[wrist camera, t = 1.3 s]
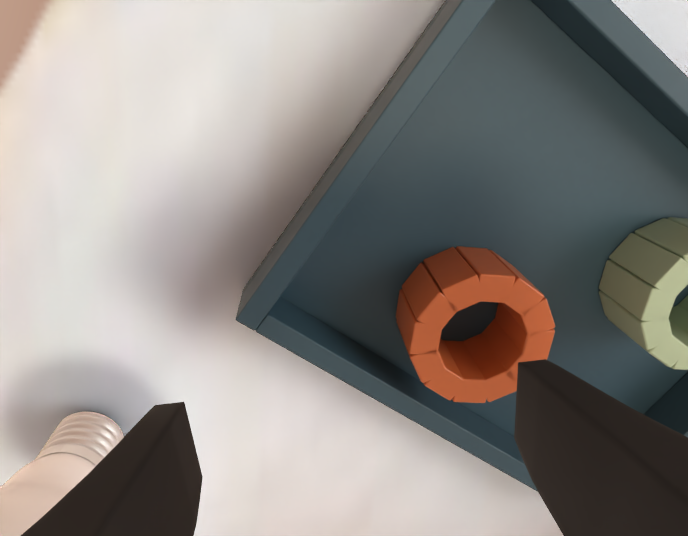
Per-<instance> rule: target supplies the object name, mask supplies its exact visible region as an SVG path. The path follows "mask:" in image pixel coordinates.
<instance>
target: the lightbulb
mask: <svg viewBox="0 0 688 536" xmlns="http://www.w3.org/2000/svg"><path fill="white" fill-rule="evenodd" d="M123 438H124V435H123V432H122V430H121V429H120V427H119V426H118V425H117V424H116V422H114V421H113V420H112V419H110V418H109V417H107V416H105V415H102V414H99V413H95V412H77V413H73V414H71V415H69V416H67V417H65V418H64V419H63V420H62V421H61V422H60V423H59V424H58V426H57V427H56V429H55V430H54V432H53V434H52V435H51V436H50V438H49V439H48V441H47V442H46V444H45V445H44V447H43V449H42V450H41V451H40V453H39V454H38V456H37V457H36V458H35V460H34V461H32V462H30V463H28V464H27V465H25V466H24V467H22V468H21V469H20V470H19V471H17V472H16V473H15V474H14V475H13V476H12V477H11V478H10V479H9V480H8V481H7V482H6V483H4V484H3V485H2V486H0V536H21V535H22V534H23V533H24V532H25V531H27V530H28V529H29V528H30V527H31V526H32V525H34V524H35V523H36V522H37V521H38V520H39V519H40V518H42V517H43V516H44V515H45V514H46V513H47V512H48V511H49V510H50V509H51V508H52V507H54V506H55V505H56V504H57V503H58V502H59V501H60V500H61V499H62V498H63V497H64V496H65V495H66V494H67V493H68V492H69V491H71V490H72V489H73V488H74V487H75V486H76V485H77V484H78V483H79V482H80V481H81V480H82V479H83V478H84V477H85V476H87V475H88V474H89V473H90V472H91V471H92V470H93V469H94V468H95V466H96V465H97V464H98V463H99V462H100V461H101V460H102V459H103V458H104V457H105V456H106V455H107V454H108V453H109V452H110V451H111V450H112V449H113V448H114V447H115V446H116V445H117V444H118V443H119V442H120V441H121V440H122V439H123Z"/></svg>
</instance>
